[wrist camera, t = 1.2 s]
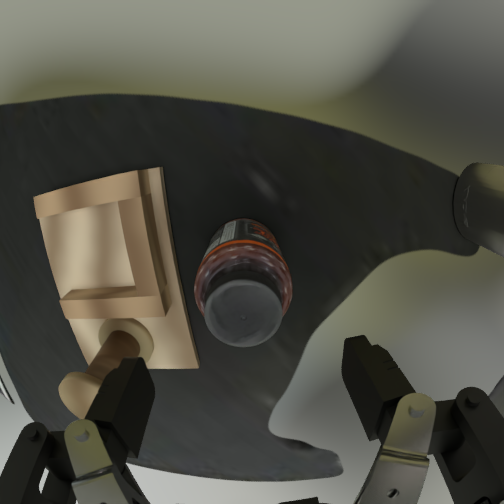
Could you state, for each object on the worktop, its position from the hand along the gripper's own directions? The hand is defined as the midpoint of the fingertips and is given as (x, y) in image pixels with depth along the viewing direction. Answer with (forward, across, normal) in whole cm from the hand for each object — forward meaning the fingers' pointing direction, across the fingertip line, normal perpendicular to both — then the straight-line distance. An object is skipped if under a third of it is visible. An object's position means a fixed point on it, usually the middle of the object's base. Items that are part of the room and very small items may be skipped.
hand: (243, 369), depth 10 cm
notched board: (+15, +13, +2) cm, 20 cm away
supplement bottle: (+15, 0, 0) cm, 15 cm away
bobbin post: (+15, +13, +8) cm, 21 cm away
